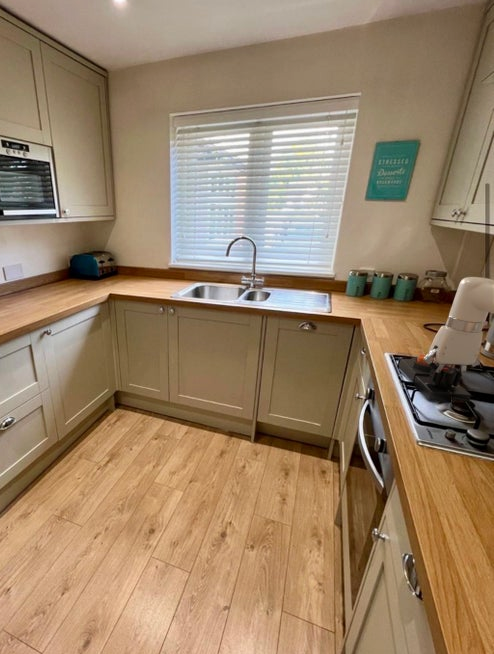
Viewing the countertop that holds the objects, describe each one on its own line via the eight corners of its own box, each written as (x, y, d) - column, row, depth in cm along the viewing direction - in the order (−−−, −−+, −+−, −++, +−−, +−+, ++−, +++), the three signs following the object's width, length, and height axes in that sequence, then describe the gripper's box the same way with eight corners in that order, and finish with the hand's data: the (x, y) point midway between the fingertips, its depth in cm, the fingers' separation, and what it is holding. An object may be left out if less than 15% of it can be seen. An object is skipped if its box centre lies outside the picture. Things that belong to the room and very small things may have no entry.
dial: (445, 381, 97) (451, 365, 95) (455, 389, 93) (461, 372, 91) (429, 380, 97) (435, 364, 95) (438, 388, 93) (444, 371, 91)
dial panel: (448, 387, 100) (452, 378, 98) (467, 404, 91) (471, 394, 90) (413, 384, 101) (415, 375, 100) (428, 400, 93) (431, 391, 92)
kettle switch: (428, 360, 106) (429, 355, 105) (434, 366, 102) (436, 361, 102) (414, 359, 107) (416, 354, 106) (420, 365, 103) (422, 360, 102)
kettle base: (427, 369, 110) (431, 355, 108) (444, 384, 101) (449, 370, 99) (398, 367, 111) (402, 353, 110) (412, 382, 102) (417, 367, 100)
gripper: (487, 320, 91) (465, 378, 98) (422, 318, 92) (405, 375, 99) (509, 331, 84) (483, 392, 91) (439, 328, 85) (419, 388, 92)
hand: (442, 382), depth 95 cm, fingers closed on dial, 4 cm apart
